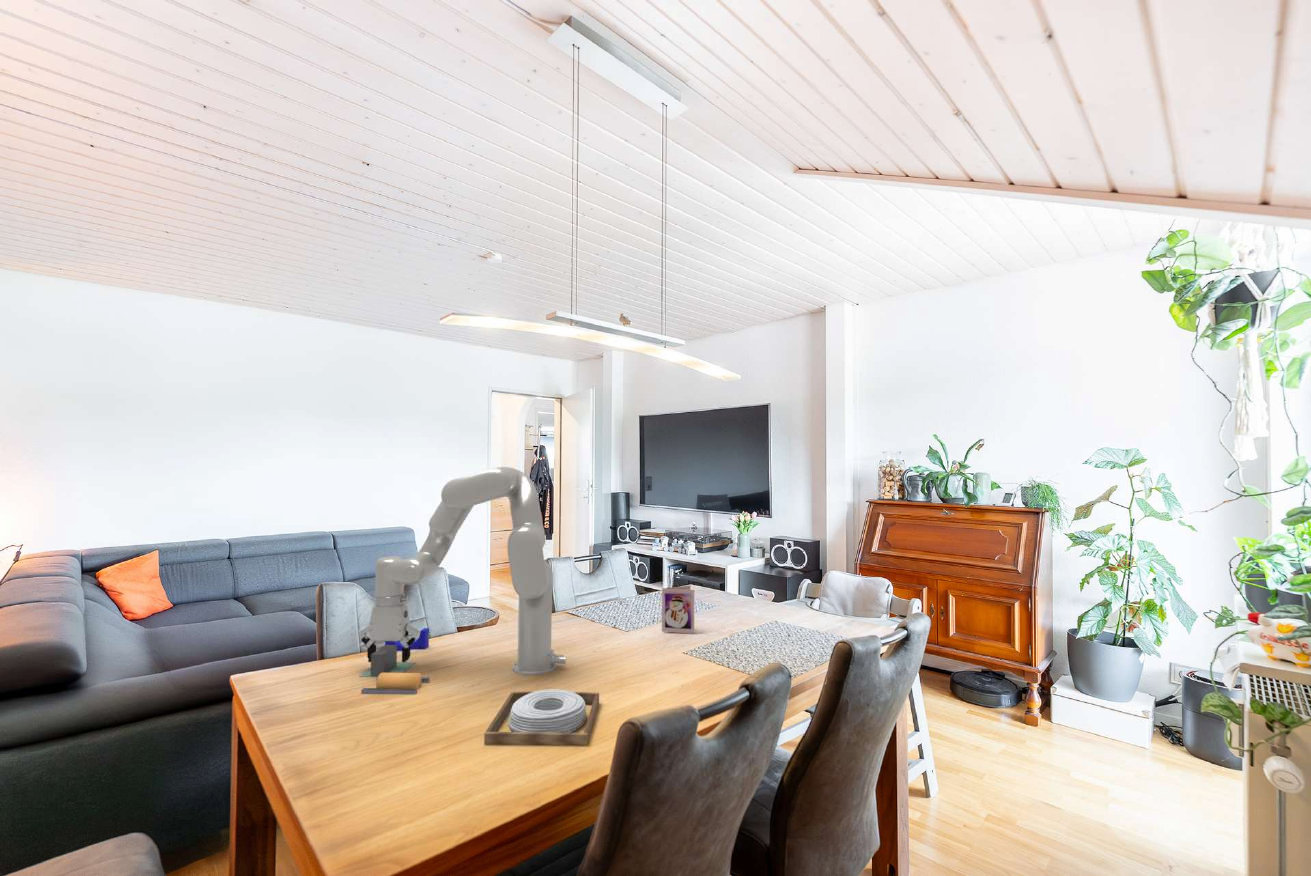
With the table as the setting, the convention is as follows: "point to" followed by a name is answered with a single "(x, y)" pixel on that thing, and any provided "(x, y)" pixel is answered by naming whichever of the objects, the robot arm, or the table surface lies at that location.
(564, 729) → the cable
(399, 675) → the tan cylinder
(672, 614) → the greeting card
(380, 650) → the block
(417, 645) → the cable clip
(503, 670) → the table surface
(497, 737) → the cable tray
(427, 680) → the channel
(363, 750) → the table surface
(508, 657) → the table surface
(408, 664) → the pad
